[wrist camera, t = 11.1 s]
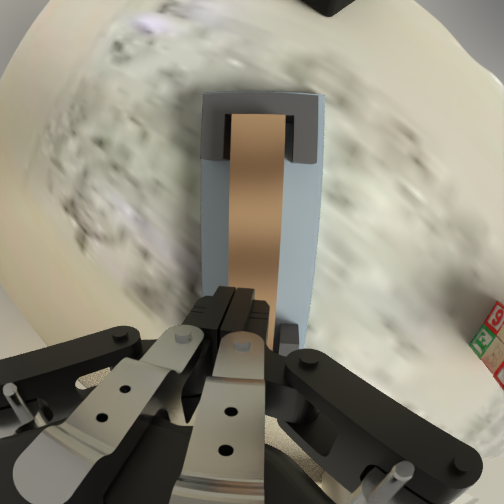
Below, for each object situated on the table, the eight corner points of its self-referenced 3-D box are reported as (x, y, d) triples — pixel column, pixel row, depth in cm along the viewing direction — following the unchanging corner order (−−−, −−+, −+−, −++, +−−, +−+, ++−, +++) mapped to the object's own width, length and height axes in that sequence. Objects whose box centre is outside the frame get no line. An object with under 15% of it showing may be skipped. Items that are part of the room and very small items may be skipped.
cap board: (299, 366, 25) (300, 394, 22) (208, 358, 26) (198, 384, 22) (322, 98, 19) (330, 83, 15) (208, 95, 20) (192, 81, 16)
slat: (272, 346, 24) (269, 383, 19) (239, 343, 24) (229, 379, 19) (285, 128, 19) (285, 114, 14) (244, 127, 19) (231, 114, 14)
